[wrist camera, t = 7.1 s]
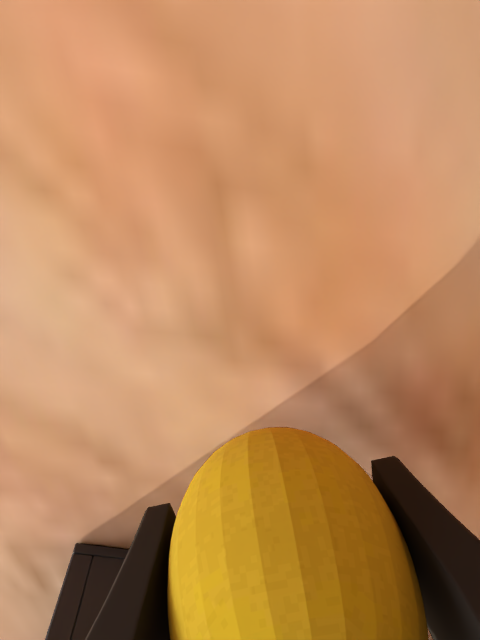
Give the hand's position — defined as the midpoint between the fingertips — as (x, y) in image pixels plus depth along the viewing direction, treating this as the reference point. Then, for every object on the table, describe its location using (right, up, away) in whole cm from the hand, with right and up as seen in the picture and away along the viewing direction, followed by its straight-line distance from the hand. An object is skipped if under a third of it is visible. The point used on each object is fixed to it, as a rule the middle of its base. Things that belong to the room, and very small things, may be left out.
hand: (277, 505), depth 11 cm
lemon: (0, +1, +2) cm, 3 cm away
